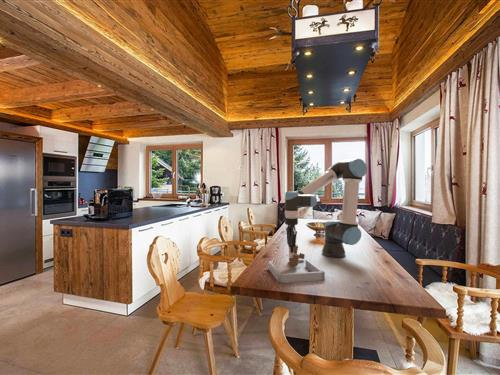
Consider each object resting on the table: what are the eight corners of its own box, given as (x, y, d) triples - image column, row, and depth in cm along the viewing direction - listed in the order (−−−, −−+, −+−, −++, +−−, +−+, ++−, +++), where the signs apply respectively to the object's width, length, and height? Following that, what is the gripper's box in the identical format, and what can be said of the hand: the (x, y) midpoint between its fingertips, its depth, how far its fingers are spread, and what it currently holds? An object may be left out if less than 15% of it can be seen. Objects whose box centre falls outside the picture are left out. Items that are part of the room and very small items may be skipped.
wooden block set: (299, 269, 145) (302, 252, 144) (284, 265, 147) (287, 248, 147) (303, 260, 162) (306, 245, 161) (290, 257, 164) (293, 242, 164)
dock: (307, 266, 149) (307, 259, 149) (324, 280, 128) (324, 272, 128) (268, 268, 145) (268, 261, 145) (279, 283, 124) (279, 275, 124)
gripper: (281, 216, 154) (281, 254, 154) (288, 219, 141) (288, 261, 141) (293, 216, 155) (293, 254, 155) (301, 219, 142) (301, 260, 143)
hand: (291, 257), depth 148 cm, fingers closed
